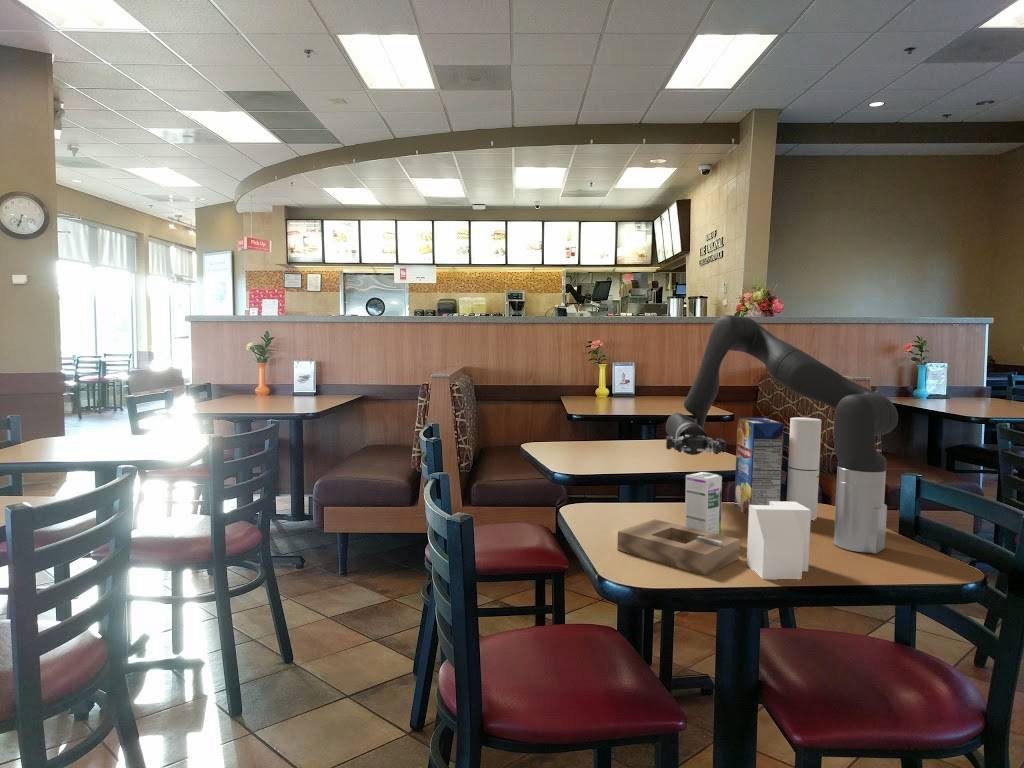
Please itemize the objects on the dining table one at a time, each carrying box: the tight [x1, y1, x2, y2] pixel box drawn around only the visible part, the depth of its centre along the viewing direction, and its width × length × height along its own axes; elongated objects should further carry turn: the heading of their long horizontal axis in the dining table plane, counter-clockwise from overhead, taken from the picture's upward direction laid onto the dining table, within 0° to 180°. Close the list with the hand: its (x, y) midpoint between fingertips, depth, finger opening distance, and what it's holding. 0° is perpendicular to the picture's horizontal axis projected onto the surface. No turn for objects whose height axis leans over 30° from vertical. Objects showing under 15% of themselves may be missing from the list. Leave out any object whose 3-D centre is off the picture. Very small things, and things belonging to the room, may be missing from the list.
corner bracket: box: [746, 500, 812, 581], centre depth 126 cm, size 11×11×12 cm
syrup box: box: [684, 471, 723, 535], centre depth 145 cm, size 6×6×14 cm
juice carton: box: [733, 417, 785, 518], centre depth 169 cm, size 12×8×24 cm, turn 0°
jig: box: [616, 519, 741, 576], centre depth 134 cm, size 20×14×5 cm
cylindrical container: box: [786, 417, 822, 521], centre depth 165 cm, size 7×7×25 cm
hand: (698, 449), depth 155 cm, fingers open, 8 cm apart
